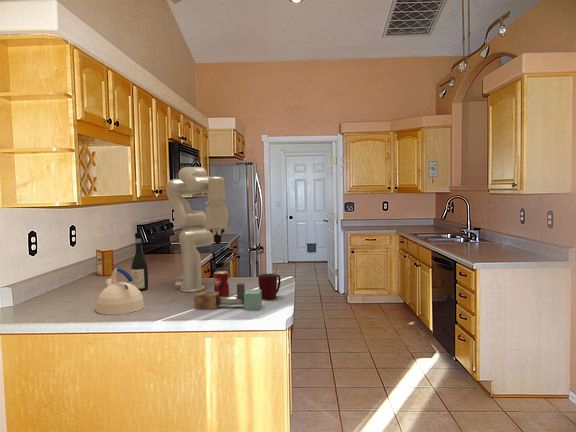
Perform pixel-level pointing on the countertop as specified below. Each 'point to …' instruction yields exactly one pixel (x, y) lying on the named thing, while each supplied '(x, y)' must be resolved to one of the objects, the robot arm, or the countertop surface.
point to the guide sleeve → (206, 300)
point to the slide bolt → (233, 300)
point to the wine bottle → (139, 267)
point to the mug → (268, 286)
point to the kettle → (119, 296)
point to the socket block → (252, 300)
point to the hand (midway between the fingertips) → (217, 243)
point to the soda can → (221, 283)
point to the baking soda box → (104, 262)
